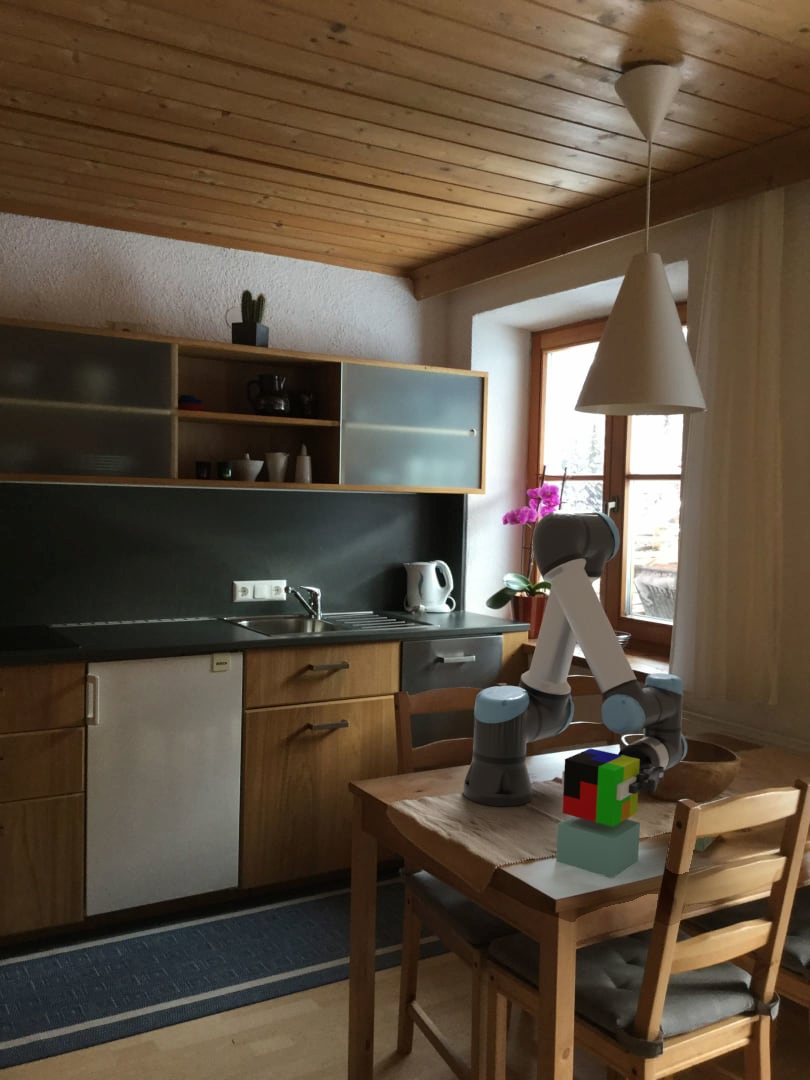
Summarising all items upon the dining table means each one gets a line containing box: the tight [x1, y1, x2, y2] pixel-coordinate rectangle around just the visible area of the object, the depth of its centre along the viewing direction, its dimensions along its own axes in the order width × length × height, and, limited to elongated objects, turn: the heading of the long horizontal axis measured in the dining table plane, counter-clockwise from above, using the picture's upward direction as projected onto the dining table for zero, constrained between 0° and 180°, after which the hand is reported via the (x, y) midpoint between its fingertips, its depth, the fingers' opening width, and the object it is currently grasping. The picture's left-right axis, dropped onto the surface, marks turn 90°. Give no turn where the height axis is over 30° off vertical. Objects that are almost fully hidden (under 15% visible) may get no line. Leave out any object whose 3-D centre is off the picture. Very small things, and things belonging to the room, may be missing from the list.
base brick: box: [556, 815, 641, 879], centre depth 172 cm, size 11×11×7 cm
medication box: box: [694, 837, 718, 853], centre depth 184 cm, size 12×3×4 cm, turn 146°
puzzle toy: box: [562, 748, 640, 827], centre depth 171 cm, size 10×10×10 cm
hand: (590, 785), depth 168 cm, fingers closed on puzzle toy, 10 cm apart
